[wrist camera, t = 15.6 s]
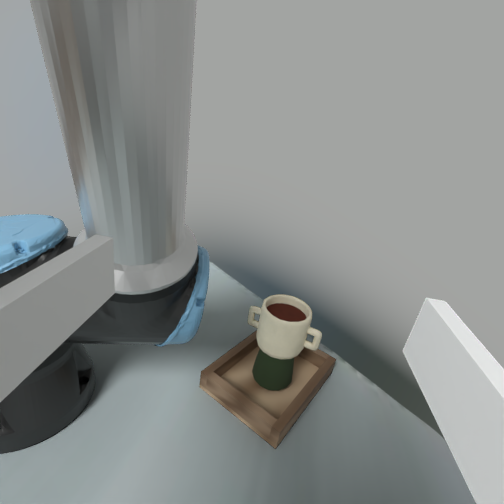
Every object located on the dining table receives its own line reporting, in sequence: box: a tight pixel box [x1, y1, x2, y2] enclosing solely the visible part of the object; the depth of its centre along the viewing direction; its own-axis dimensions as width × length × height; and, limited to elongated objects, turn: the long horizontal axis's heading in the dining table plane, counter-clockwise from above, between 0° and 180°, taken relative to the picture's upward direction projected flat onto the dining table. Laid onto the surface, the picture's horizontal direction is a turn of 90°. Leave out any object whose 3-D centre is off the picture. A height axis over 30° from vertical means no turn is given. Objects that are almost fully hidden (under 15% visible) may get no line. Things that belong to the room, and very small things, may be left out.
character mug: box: [248, 294, 322, 391], centre depth 45 cm, size 11×7×13 cm, turn 66°
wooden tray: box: [200, 330, 336, 449], centre depth 48 cm, size 13×17×3 cm
